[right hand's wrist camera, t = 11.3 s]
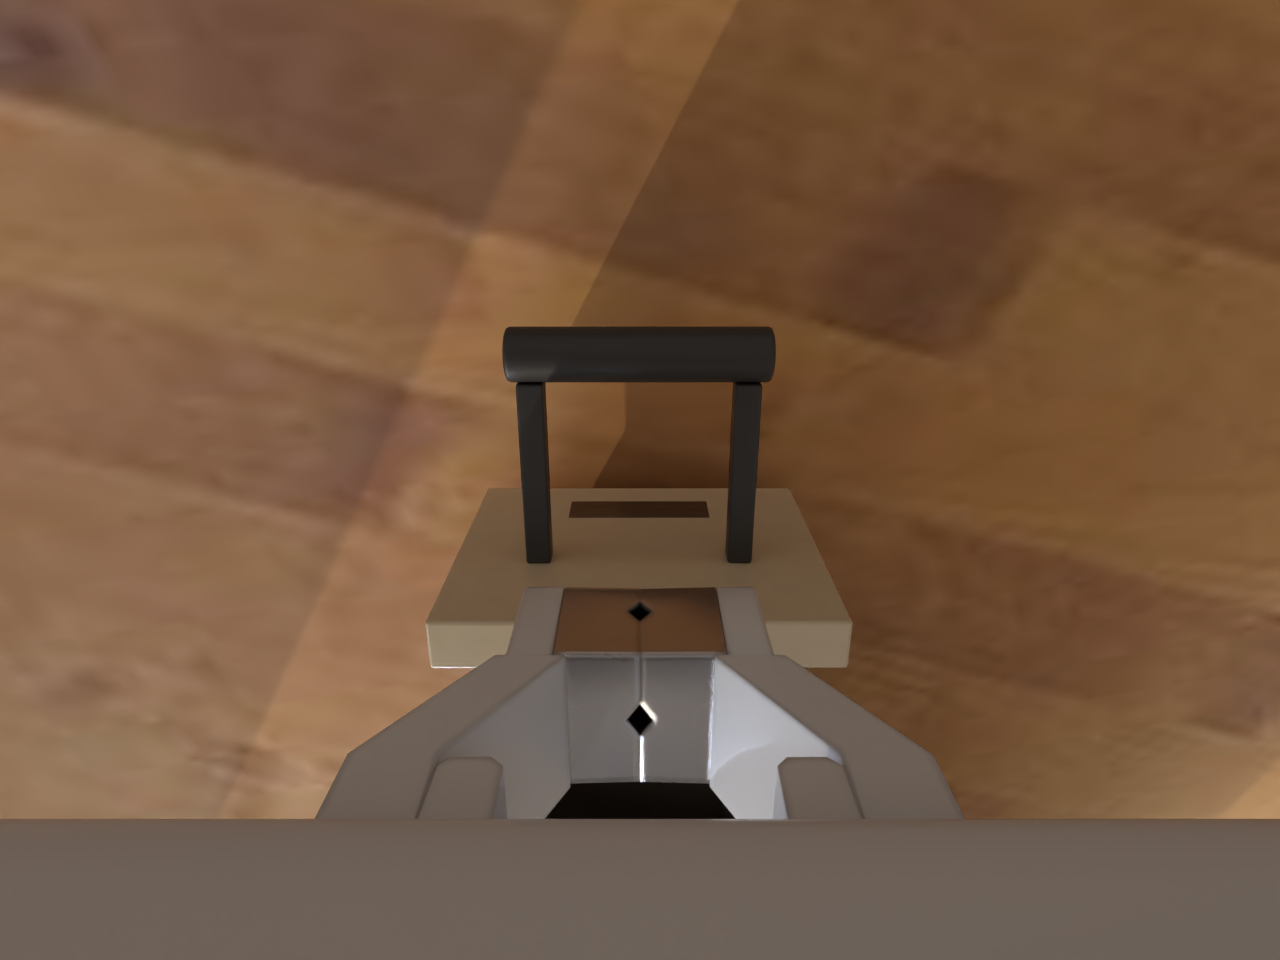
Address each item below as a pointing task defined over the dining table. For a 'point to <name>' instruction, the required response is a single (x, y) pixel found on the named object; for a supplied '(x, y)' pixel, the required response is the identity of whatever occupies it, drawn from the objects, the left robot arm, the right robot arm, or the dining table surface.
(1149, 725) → the dining table surface
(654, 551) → the drawer
